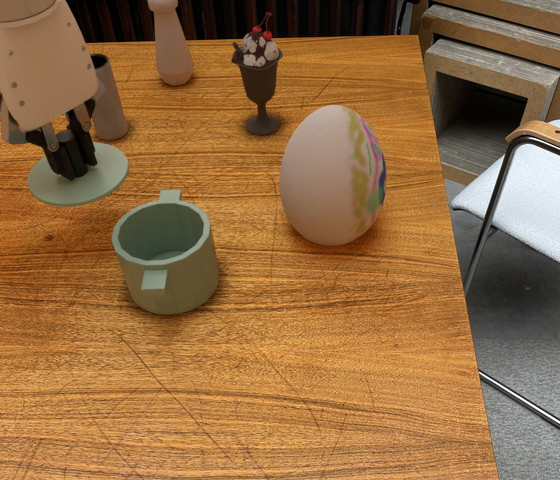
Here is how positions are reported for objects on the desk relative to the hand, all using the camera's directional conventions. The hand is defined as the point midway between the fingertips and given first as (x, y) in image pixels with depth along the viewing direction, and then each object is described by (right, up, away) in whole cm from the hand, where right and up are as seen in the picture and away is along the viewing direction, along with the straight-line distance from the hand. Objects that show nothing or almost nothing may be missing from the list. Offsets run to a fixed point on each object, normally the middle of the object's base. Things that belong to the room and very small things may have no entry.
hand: (76, 167), depth 72 cm
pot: (+11, -13, +2) cm, 17 cm away
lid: (0, -1, +1) cm, 1 cm away
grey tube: (-1, +12, +21) cm, 24 cm away
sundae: (+21, +12, +20) cm, 31 cm away
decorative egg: (+29, -5, +6) cm, 30 cm away
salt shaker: (+7, +23, +29) cm, 38 cm away
